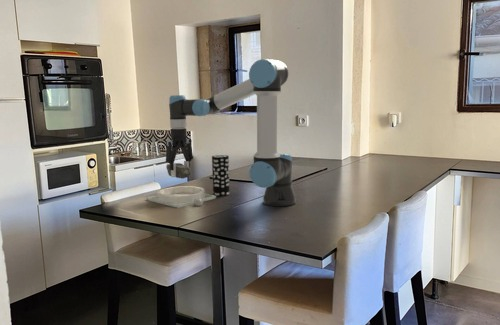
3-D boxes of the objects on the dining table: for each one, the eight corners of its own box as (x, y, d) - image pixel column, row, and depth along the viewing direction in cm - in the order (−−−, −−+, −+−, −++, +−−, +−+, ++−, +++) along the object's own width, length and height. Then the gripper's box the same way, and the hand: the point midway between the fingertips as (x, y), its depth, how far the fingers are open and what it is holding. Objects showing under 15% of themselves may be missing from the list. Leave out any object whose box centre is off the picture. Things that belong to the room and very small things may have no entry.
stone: (193, 184, 223) (196, 167, 218) (182, 189, 218) (184, 172, 213) (175, 169, 230) (177, 153, 224) (163, 174, 225) (165, 157, 219)
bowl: (214, 198, 223) (213, 190, 222) (177, 207, 207) (177, 198, 206) (184, 192, 238) (184, 184, 237) (149, 200, 222) (148, 191, 221)
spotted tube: (214, 198, 226) (213, 157, 223) (211, 194, 234) (210, 155, 231) (231, 196, 228) (230, 156, 225) (227, 193, 236) (226, 154, 233)
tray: (216, 199, 223) (216, 195, 223) (177, 209, 206) (177, 205, 206) (184, 192, 239) (184, 189, 239) (147, 201, 222) (146, 197, 222)
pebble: (198, 202, 213) (203, 197, 211) (200, 208, 211) (205, 204, 209) (192, 201, 210) (196, 196, 209) (194, 207, 208) (198, 202, 207)
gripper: (189, 126, 227) (191, 171, 231) (155, 129, 212) (158, 177, 216) (199, 127, 222) (201, 173, 225) (165, 130, 207) (168, 179, 211)
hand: (180, 175), depth 221 cm, fingers closed on stone, 7 cm apart
